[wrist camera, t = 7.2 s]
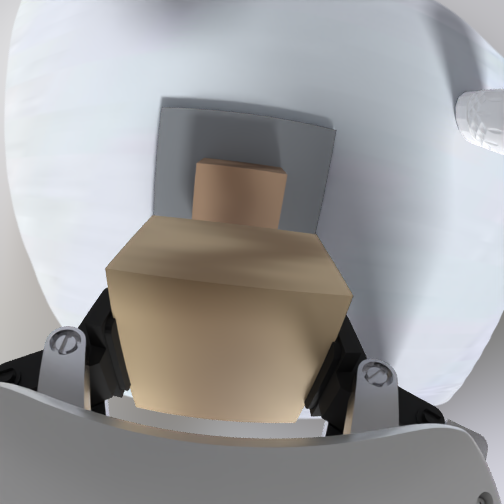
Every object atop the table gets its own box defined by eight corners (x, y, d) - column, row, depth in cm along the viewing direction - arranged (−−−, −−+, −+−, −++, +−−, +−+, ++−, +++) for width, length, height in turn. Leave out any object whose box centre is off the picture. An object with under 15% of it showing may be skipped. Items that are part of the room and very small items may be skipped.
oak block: (316, 234, 10) (353, 295, 6) (284, 351, 13) (295, 422, 9) (152, 215, 10) (105, 268, 6) (157, 338, 12) (136, 406, 8)
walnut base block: (281, 167, 24) (287, 174, 21) (268, 238, 27) (272, 256, 24) (204, 157, 24) (196, 162, 20) (197, 229, 27) (190, 246, 23)
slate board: (332, 130, 24) (336, 130, 23) (301, 277, 30) (302, 282, 29) (164, 107, 22) (161, 107, 22) (156, 260, 29) (153, 264, 28)
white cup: (460, 74, 20) (519, 72, 11) (494, 114, 21) (549, 123, 12) (443, 123, 23) (506, 132, 14) (478, 160, 24) (535, 180, 15)
